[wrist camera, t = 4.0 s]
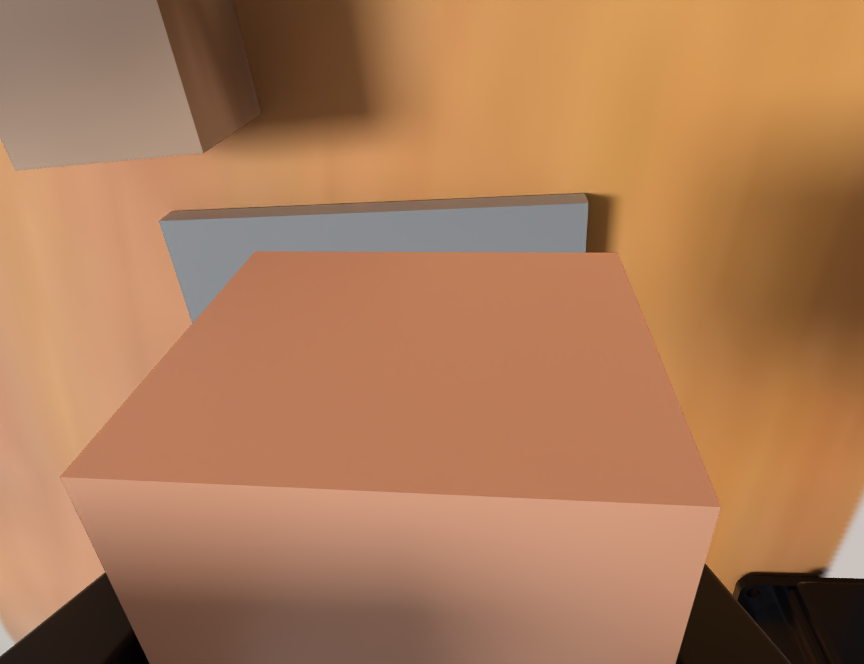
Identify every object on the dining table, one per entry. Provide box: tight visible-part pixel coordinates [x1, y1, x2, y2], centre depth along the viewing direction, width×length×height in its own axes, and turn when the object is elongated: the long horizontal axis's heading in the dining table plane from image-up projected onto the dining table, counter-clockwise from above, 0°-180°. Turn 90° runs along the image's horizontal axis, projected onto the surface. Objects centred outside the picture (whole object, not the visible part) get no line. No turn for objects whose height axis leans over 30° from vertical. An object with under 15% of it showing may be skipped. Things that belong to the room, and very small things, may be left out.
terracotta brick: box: [60, 251, 721, 664], centre depth 7 cm, size 6×4×4 cm
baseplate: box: [159, 193, 589, 324], centre depth 20 cm, size 12×12×1 cm
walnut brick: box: [0, 0, 261, 171], centre depth 13 cm, size 6×4×4 cm
